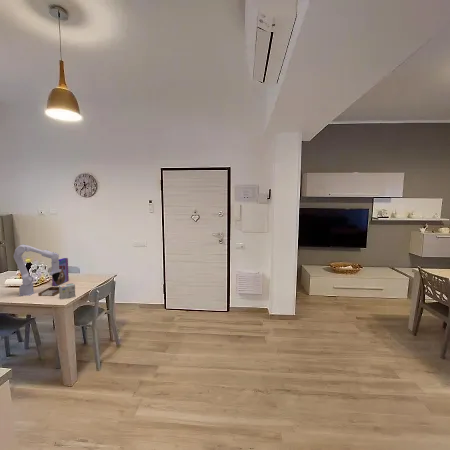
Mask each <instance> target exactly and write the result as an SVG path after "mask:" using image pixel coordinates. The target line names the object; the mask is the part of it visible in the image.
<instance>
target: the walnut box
mask: <svg viewBox="0 0 450 450" xmlns="http://www.w3.org/2000/svg"><path fill="white" fill-rule="evenodd" d="M47 290H58V291H56V292H54V293H53V296H52V297H55V296H57V295H59V286H50V287H48V288H46V289H44V290H42V291H40V292H38V297H43V296H42V293H43V292H45V291H47Z"/></svg>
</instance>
